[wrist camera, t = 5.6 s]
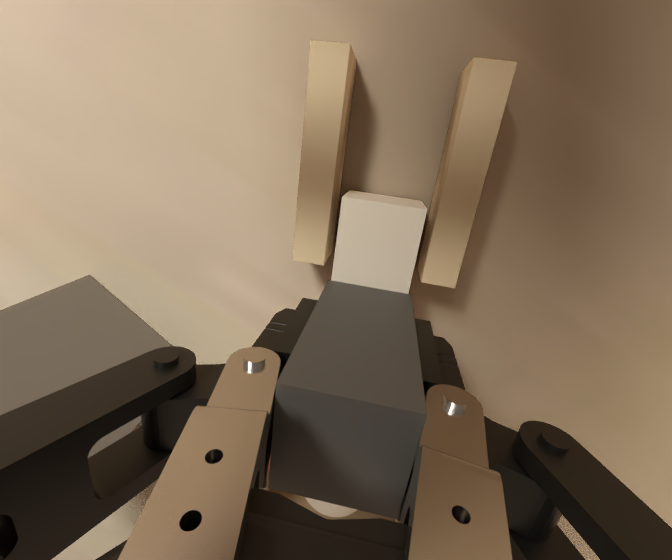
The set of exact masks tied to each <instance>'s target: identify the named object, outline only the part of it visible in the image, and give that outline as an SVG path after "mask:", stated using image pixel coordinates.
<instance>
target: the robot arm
mask: <svg viewBox="0 0 672 560" xmlns="http://www.w3.org/2000/svg"><path fill="white" fill-rule="evenodd" d="M316 303H317V300H312V299H307V298H303V299H302V300H301V302H300V303H299V305H298V307H297V308H296V310H293V309H287V308H286V309H284V310H282V311H280V312H278V313H276V314H275V315H274V317H273V318H272V320H271V321H270V323H269V324H268V325H267V326H266V329H264V331H263V332H262V333H261V335H260V336H259V338H258V339H257V340H256V342H255V343H254V345H253V346H252V347H248V348H243V349H240V350H238V351H236V352H234V353H233V354H232V355H231V356H230V357H229V358H228V360H227V362H226V364H214V365H196V356H195V354H194V353H193V352H192V351H191V350H189V349H186V348H183V347H175V346H170V347H162V348H158V349H154V350H152V351H149V352H147V353H144V354H142V355H140V356H137V357H135V358H133V359H130V360H128V361H126V362H123V363H121V364H119V365H116V366H114V367H112V368H109V369H107V370H105V371H102V372H100V373H98V374H95V375H93V376H91V377H88V378H86V379H84V380H81V381H79V382H77V383H75V384H72V385H70V386H68V387H65V388H63V389H61V390H58V391H56V392H54V393H51V394H49V395H47V396H44V397H42V398H40V399H37V400H35V401H33V402H30V403H28V404H26V405H23V406H21V407H19V408H16V409H14V410H12V411H9V412H7V413H5V414H2V415H0V560H51V559H52V558H54V557H55V556H56V555H58V554H59V553H60V552H62V551H63V550H64V549H66V548H67V547H68V546H70V545H71V544H72V543H74V542H75V541H76V540H78V539H79V538H80V537H81V536H83V535H84V534H85V533H87V532H88V531H89V530H91V529H92V528H93V527H95V526H96V525H97V524H99V523H100V522H101V521H103V520H104V519H105V518H107V517H108V516H109V515H111V514H112V513H113V512H115V511H116V510H117V509H119V508H120V507H121V506H123V505H124V504H125V503H127V502H128V501H129V500H131V499H132V498H133V497H135V496H136V495H137V494H138V493H140V492H141V491H142V490H144V489H145V488H146V487H148V486H149V485H150V484H152V483H153V482H154V481H156V480H157V479H158V478H159V479H158V481H157V483H156V485H155V487H154V489H153V491H152V493H151V495H150V497H149V499H148V501H147V503H146V505H145V507H144V509H143V511H142V513H141V515H140V516H139V518H138V520H137V522H136V524H135V526H134V528H133V530H132V532H131V534H130V536H129V538H128V540H126V541H124V542H123V543H121V544H120V545H118V546H116V547H115V548H113V549H112V550H110V551H109V552H107V553H105V554H104V555H102V556H101V557H99V558H97V559H96V560H585V559H584V557H583V556H582V555H581V554H580V553H579V551H578V550H577V549H576V548H575V546H574V545H573V544H572V543H571V541H570V540H569V539H568V538H567V536H566V535H565V534H564V533H563V531H562V530H561V529H560V528H559V527H558V525H557V523H558V521H559V519H560V517H561V516H562V514H563V516H564V517H565V518H566V519H567V520H568V522H569V523H570V524H571V525H572V526H573V527H574V529H575V530H576V531H577V532H578V533H579V535H580V536H581V537H582V538H583V539H584V541H585V542H586V543H587V544H588V545H589V546H590V548H591V549H592V550H593V551H594V552H595V554H596V555H597V556H598V557H599V559H600V560H672V528H671V527H670V526H669V525H668V524H667V523H666V522H664V521H663V520H662V519H661V518H660V517H659V516H658V515H657V514H656V513H655V512H654V511H653V510H651V509H650V508H649V507H648V506H647V505H646V504H645V503H644V502H643V501H642V500H641V499H639V498H638V497H637V496H636V495H635V494H634V493H633V492H632V491H631V490H630V489H629V488H627V487H626V486H625V485H624V484H623V483H622V482H621V481H620V480H619V479H618V478H617V477H615V476H614V475H613V474H612V473H611V472H610V471H609V470H608V469H607V468H606V467H605V466H603V465H602V464H601V463H600V462H599V461H598V460H597V459H596V458H595V457H594V456H593V455H591V454H590V453H589V452H588V451H587V450H586V449H585V448H584V447H583V446H582V445H581V444H579V443H578V442H577V441H576V440H575V439H574V438H573V437H571V436H570V435H569V434H567V433H566V432H564V431H562V430H561V429H559V428H557V427H555V426H552V425H550V424H547V423H544V422H539V421H528V422H525V423H523V424H522V425H521V427H520V429H519V431H518V432H517V431H514V430H512V429H510V428H507V427H505V426H502V425H500V424H498V423H496V422H494V421H492V420H490V419H488V418H486V417H485V416H484V412H483V408H482V406H481V404H480V403H479V401H478V400H477V399H476V398H475V397H474V396H473V395H471V394H470V393H468V392H467V391H465V387H464V384H463V381H462V378H461V374H460V371H459V368H458V366H457V365H458V364H457V361H456V359H455V355H454V351H453V348H452V346H451V345H450V344H449V343H448V342H447V341H446V340H445V339H444V338H442V337H436V336H433V332H432V327H431V323H430V321H426V320H420V319H415V318H414V319H415V327H416V334H417V342H418V349H419V357H420V364H421V372H422V379H423V387H424V394H425V402H426V409H427V417H426V421H425V424H424V427H422V429H421V433H420V436H419V440H418V443H417V449H416V455H415V459H414V462H413V466H412V469H411V473H410V476H409V480H408V483H407V487H406V490H405V494H404V496H402V499H401V503H400V506H399V510H398V515H397V521H396V522H394V521H390V520H386V519H382V518H373V519H334V520H332V519H326V518H323V517H321V516H319V515H318V514H316V513H314V512H312V511H310V510H308V509H307V508H305V507H303V506H301V505H299V504H297V503H296V502H294V501H292V500H290V499H288V498H286V497H285V496H283V495H281V494H279V493H275V492H271V491H266V485H267V479H268V473H269V468H270V458H271V445H272V432H273V419H274V406H275V393H276V382H277V380H278V378H279V377H280V375H281V373H282V371H283V369H284V367H285V365H286V363H287V361H288V359H289V357H290V355H291V353H292V351H293V349H294V347H295V345H296V343H297V341H298V339H299V337H300V335H301V333H302V331H303V329H304V327H305V325H306V323H307V321H308V319H309V317H310V315H311V313H312V311H313V309H314V307H315V305H316ZM139 416H141V421H142V426H141V427H139V428H138V429H136V430H134V431H133V432H131V433H129V434H128V435H126V436H124V437H123V438H121V439H119V440H118V441H116V442H114V443H113V444H111V445H109V446H108V447H106V448H104V449H103V450H101V451H99V452H98V453H96V454H94V455H93V456H91V457H89V458H88V455H89V452H90V450H91V449H92V447H93V446H94V445H95V444H96V443H97V442H98V441H99V440H100V439H101V438H103V437H104V436H106V435H107V434H109V433H111V432H113V431H114V430H116V429H118V428H120V427H121V426H123V425H125V424H127V423H128V422H130V421H132V420H134V419H135V418H137V417H139Z"/></svg>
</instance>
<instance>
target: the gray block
mask: <svg viewBox="0 0 672 560" xmlns="http://www.w3.org/2000/svg"><path fill="white" fill-rule="evenodd" d="M426 213H427V208H426V207H425V205H424V203H423V202H422V201H420V200H413V199H406V198H399V197H393V196H386V195H379V194H373V193H366V192H359V191H353V190H349V191H348V192H347V193H346V194H345V195H344V196H342V201H341V209H340V217H339V224H338V232H337V239H336V247H335V255H334V262H333V270H332V278H331V280H328V282H327V284H326V286H325V288H324V290H323V292H322V294H321V296H320V298H319V300H318V301H317V303H316V305H315V307H314V309H313V311H312V313H311V315H310V317H309V319H308V321H307V323H306V325H305V327H304V329H303V331H302V333H301V335H300V337H299V339H298V341H297V343H296V345H295V347H294V349H293V351H292V353H291V355H290V357H289V359H288V361H287V363H286V365H285V367H284V369H283V371H282V373H281V375H280V377H279V378H278V380H277V382H276V393H275V406H274V419H273V432H272V445H271V458H270V471H269V484H268V488H270V489H274V490H278V491H282V492H286V493H291V494H295V495H299V496H303V497H307V498H311V499H315V500H319V501H324V502H328V503H332V504H336V505H340V506H344V507H348V508H352V509H357V510H361V511H365V512H369V513H373V514H377V515H381V516H386V517H390V518H394V519H397V515H398V510H399V506H400V503H401V499H402V496H404V494H405V490H406V487H407V483H408V480H409V476H410V473H411V469H412V466H413V462H414V459H415V455H416V449H417V443H418V440H419V436H420V433H421V429H422V427H424V424H425V421H426V417H427V409H426V402H425V394H424V387H423V379H422V372H421V364H420V357H419V349H418V342H417V334H416V327H415V319H414V312H413V304H412V297H411V294H408V293H409V289H410V285H411V280H412V276H413V271H414V267H415V262H416V258H417V253H418V249H419V244H420V240H421V235H422V231H423V227H424V222H425V218H426Z"/></svg>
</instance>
